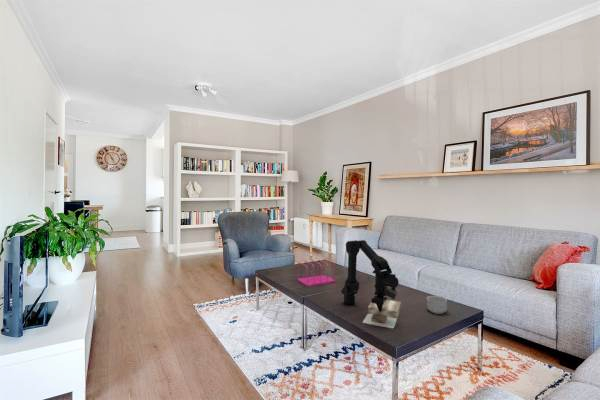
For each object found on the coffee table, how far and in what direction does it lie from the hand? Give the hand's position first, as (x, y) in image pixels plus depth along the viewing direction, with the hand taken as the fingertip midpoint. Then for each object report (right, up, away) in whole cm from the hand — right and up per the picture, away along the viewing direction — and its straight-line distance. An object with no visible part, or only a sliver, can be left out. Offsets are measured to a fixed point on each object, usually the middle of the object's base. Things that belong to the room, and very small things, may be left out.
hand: (380, 311), depth 166 cm
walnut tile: (-1, -2, -1) cm, 3 cm away
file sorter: (-31, -3, +71) cm, 77 cm away
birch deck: (+6, -4, +12) cm, 14 cm away
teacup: (+37, -5, +12) cm, 39 cm away
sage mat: (0, -5, -1) cm, 5 cm away
